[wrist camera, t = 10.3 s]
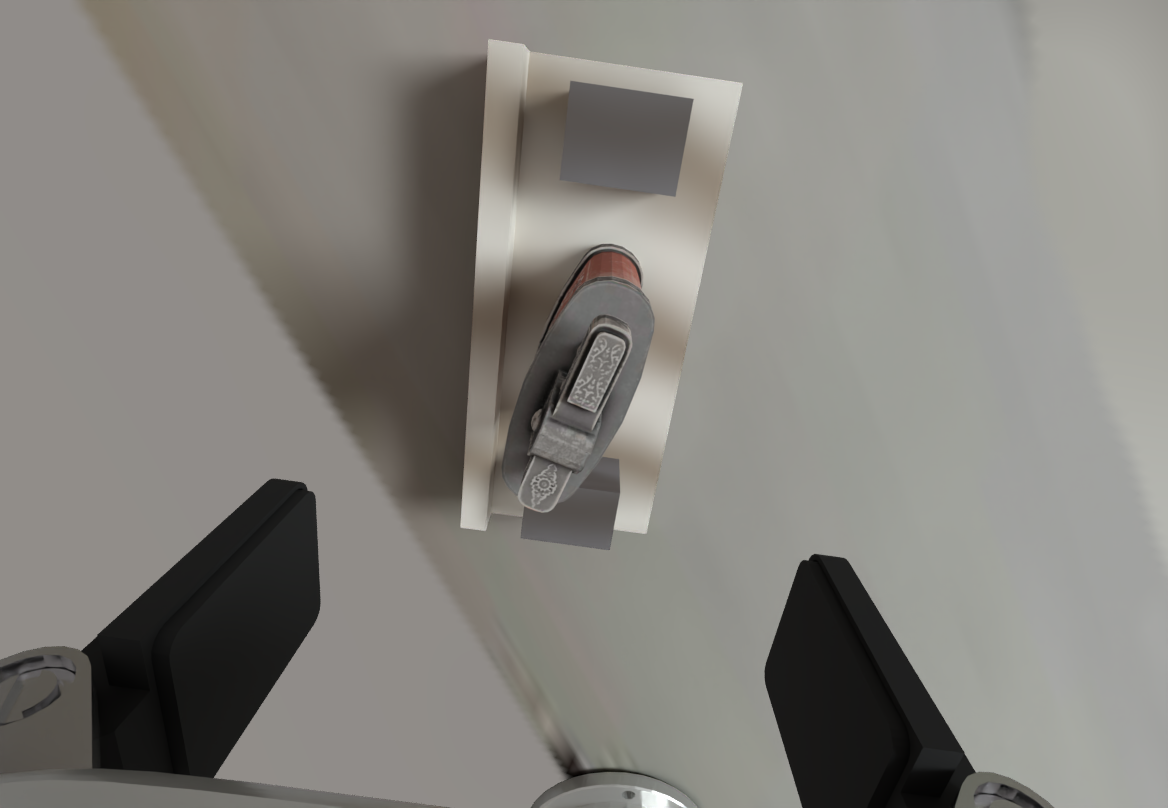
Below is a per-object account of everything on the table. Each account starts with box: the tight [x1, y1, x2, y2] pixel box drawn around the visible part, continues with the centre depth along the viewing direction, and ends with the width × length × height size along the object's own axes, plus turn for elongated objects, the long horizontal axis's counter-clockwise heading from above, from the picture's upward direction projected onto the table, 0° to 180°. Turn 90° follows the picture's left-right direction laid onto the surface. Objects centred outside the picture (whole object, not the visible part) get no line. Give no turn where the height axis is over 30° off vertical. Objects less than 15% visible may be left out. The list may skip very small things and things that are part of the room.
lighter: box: [501, 244, 655, 513], centre depth 20 cm, size 8×3×10 cm, turn 157°
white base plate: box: [461, 39, 743, 550], centre depth 24 cm, size 20×9×4 cm, turn 172°
